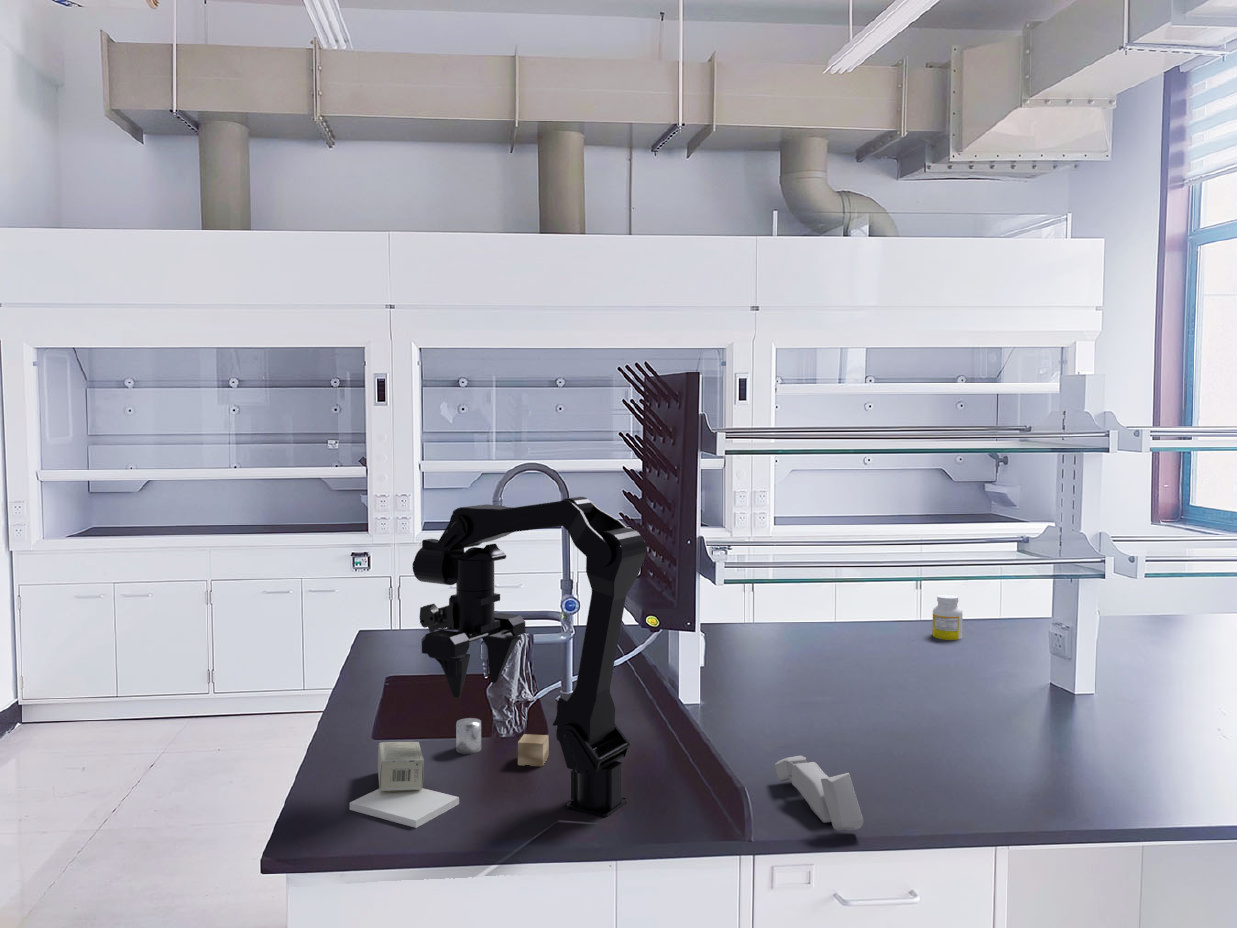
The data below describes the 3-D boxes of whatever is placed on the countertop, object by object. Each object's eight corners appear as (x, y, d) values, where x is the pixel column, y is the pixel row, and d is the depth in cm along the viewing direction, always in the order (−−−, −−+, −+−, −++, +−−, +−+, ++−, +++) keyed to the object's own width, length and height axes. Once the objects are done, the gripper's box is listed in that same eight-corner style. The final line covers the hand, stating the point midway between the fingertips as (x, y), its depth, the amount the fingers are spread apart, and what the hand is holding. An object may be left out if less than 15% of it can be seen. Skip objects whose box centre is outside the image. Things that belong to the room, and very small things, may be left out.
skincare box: (422, 789, 136) (418, 770, 148) (424, 758, 137) (420, 741, 148) (377, 791, 135) (377, 771, 147) (379, 759, 135) (378, 741, 147)
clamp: (865, 833, 125) (865, 781, 125) (839, 837, 124) (839, 784, 124) (797, 784, 144) (796, 738, 144) (774, 786, 143) (773, 741, 143)
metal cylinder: (486, 750, 157) (486, 720, 156) (471, 758, 153) (470, 727, 153) (466, 746, 159) (466, 716, 158) (451, 753, 155) (451, 723, 155)
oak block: (548, 759, 153) (548, 735, 152) (542, 769, 149) (542, 743, 148) (524, 758, 153) (524, 734, 153) (517, 767, 149) (517, 742, 149)
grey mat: (459, 804, 135) (459, 797, 135) (416, 827, 127) (416, 820, 127) (394, 787, 141) (394, 781, 140) (349, 809, 133) (349, 802, 133)
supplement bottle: (941, 645, 230) (942, 592, 229) (967, 651, 225) (968, 596, 224) (926, 650, 225) (927, 596, 225) (952, 655, 220) (953, 600, 220)
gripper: (471, 575, 157) (471, 669, 158) (392, 593, 141) (393, 697, 141) (527, 580, 152) (527, 678, 152) (452, 600, 135) (452, 709, 136)
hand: (475, 689), depth 146 cm, fingers open, 9 cm apart
